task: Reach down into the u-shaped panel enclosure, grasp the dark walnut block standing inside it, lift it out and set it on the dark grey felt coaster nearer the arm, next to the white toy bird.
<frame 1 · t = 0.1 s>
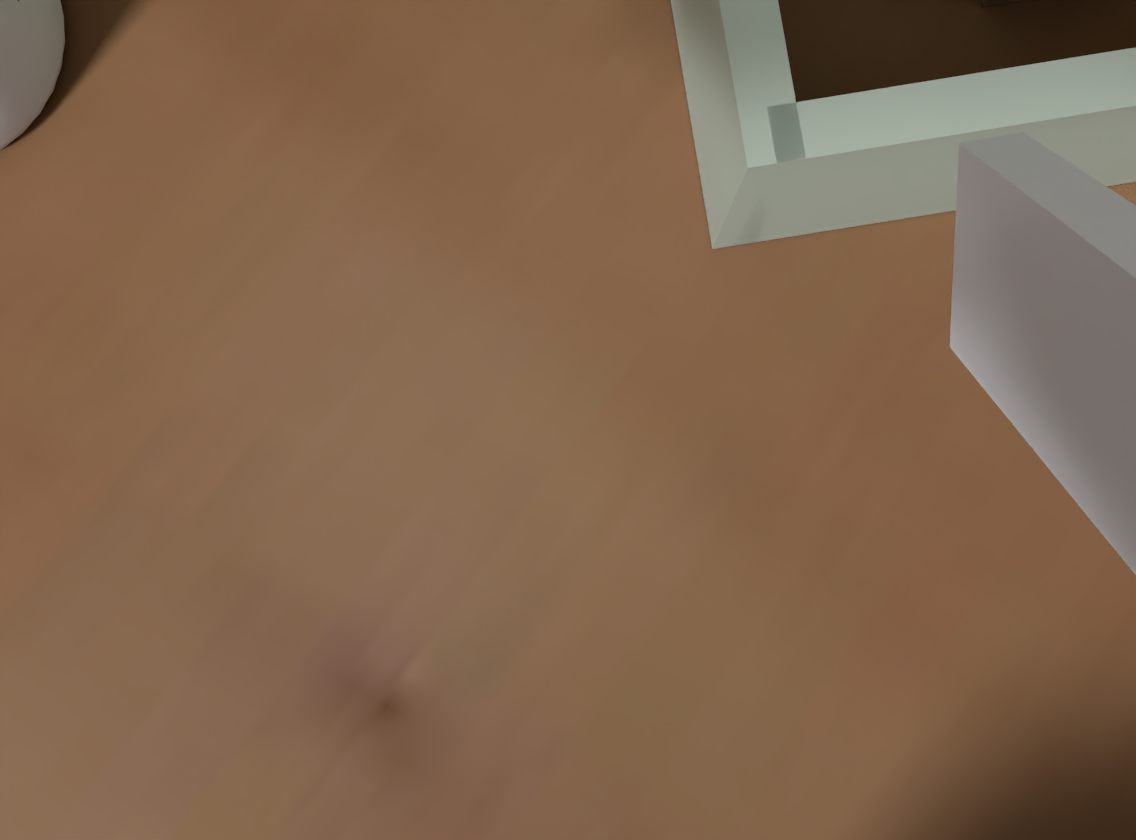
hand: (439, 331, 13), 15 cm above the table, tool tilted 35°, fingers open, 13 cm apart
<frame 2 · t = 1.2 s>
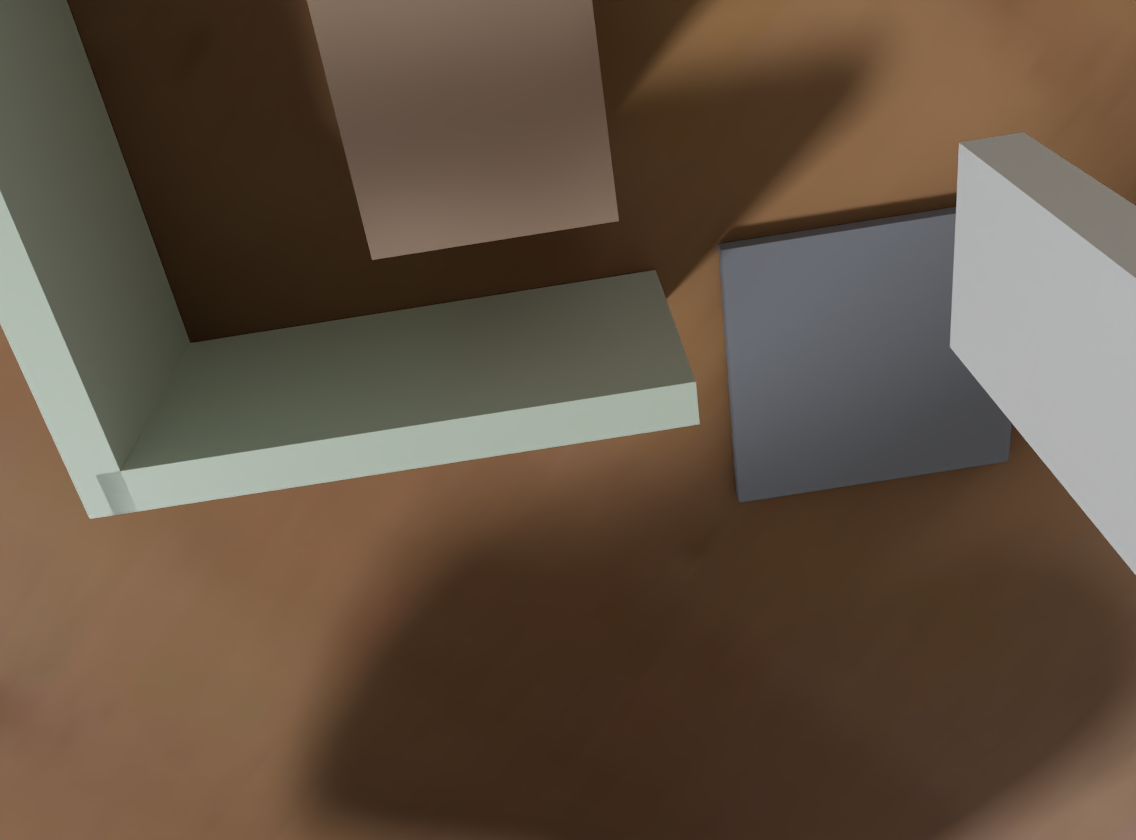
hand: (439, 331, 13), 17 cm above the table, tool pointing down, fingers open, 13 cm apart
u-shaped panel enclosure: (381, 63, 28), on the table
walnut block: (475, 47, 28), on the table
coaster: (869, 355, 33), on the table
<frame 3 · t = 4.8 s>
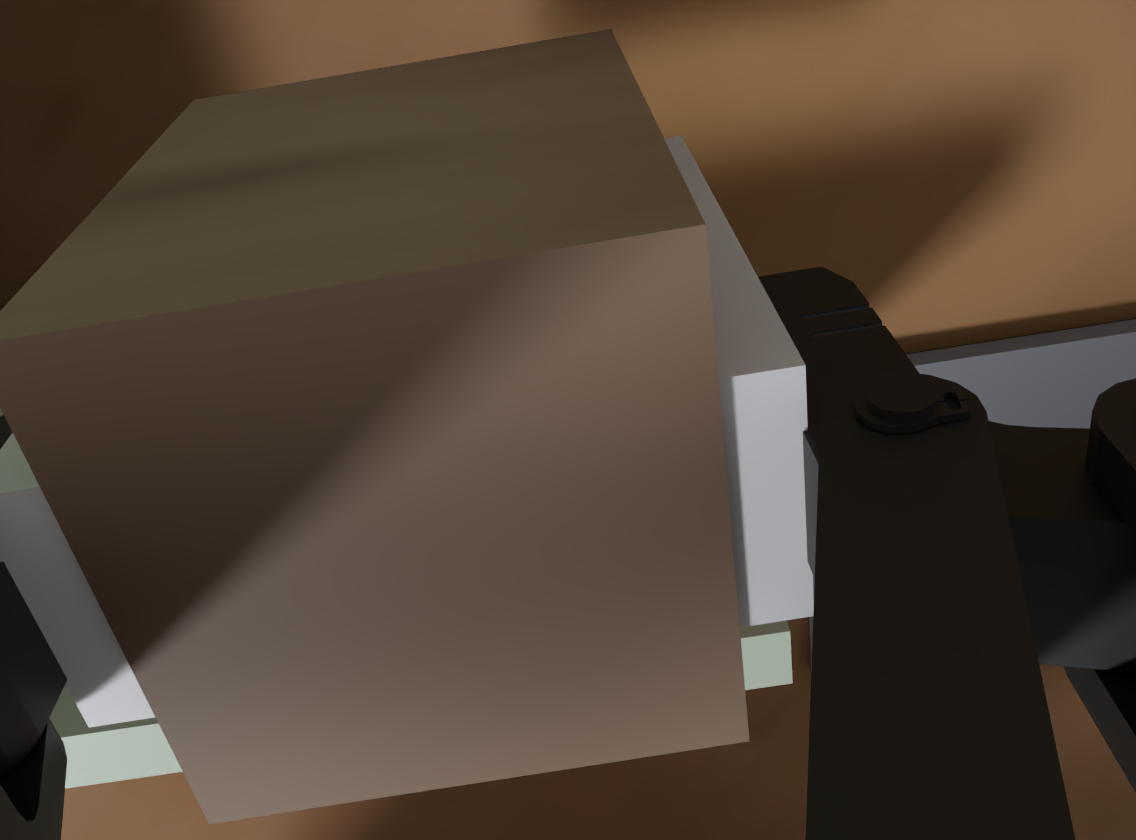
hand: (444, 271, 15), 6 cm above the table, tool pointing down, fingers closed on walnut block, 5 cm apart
u-shaped panel enclosure: (329, 136, 19), on the table
walnut block: (445, 259, 15), point 5 cm above the table, touching gripper
coaster: (997, 505, 25), on the table
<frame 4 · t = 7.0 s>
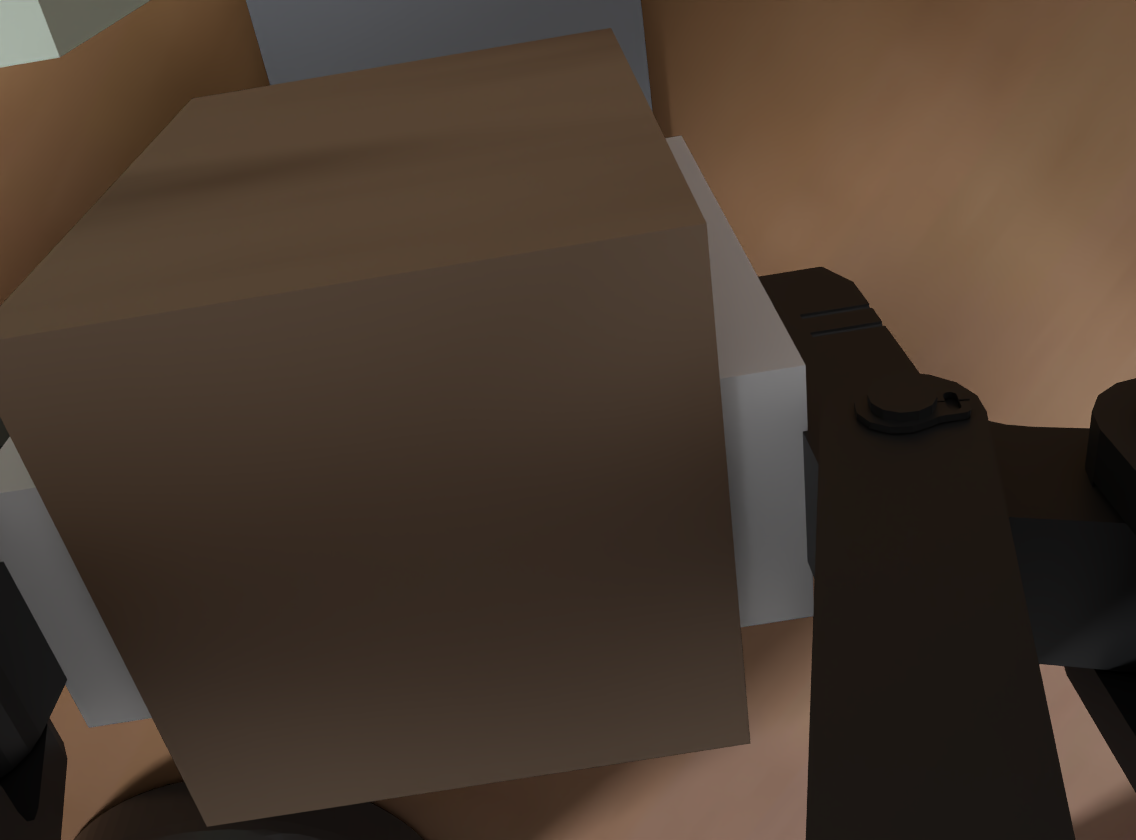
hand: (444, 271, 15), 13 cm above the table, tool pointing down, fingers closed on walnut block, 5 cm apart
walnut block: (444, 259, 15), point 13 cm above the table, touching gripper
coaster: (460, 68, 26), on the table
when the fingers open (1 cm above the table, at t = 9.6 s): walnut block stays where it is, resting on coaster.
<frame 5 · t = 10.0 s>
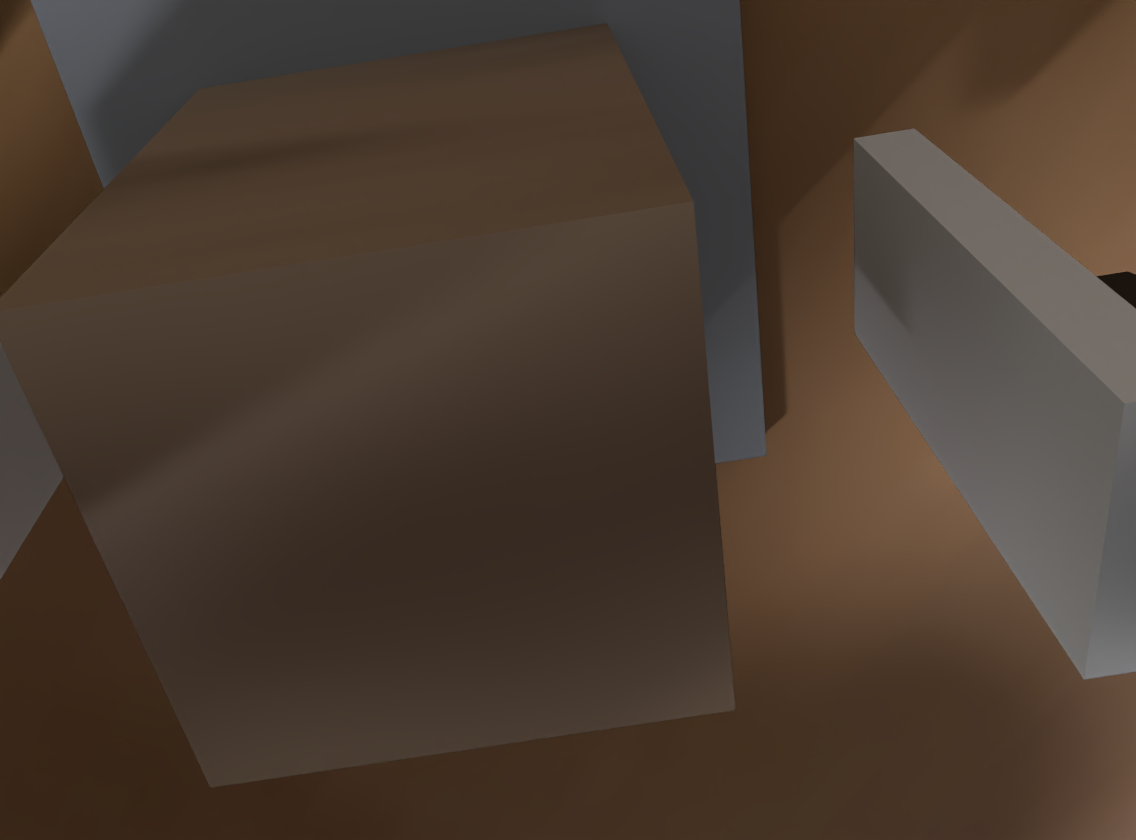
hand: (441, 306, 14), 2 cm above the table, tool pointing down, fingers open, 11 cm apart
walnut block: (443, 248, 16), resting on coaster
coaster: (448, 236, 16), on the table
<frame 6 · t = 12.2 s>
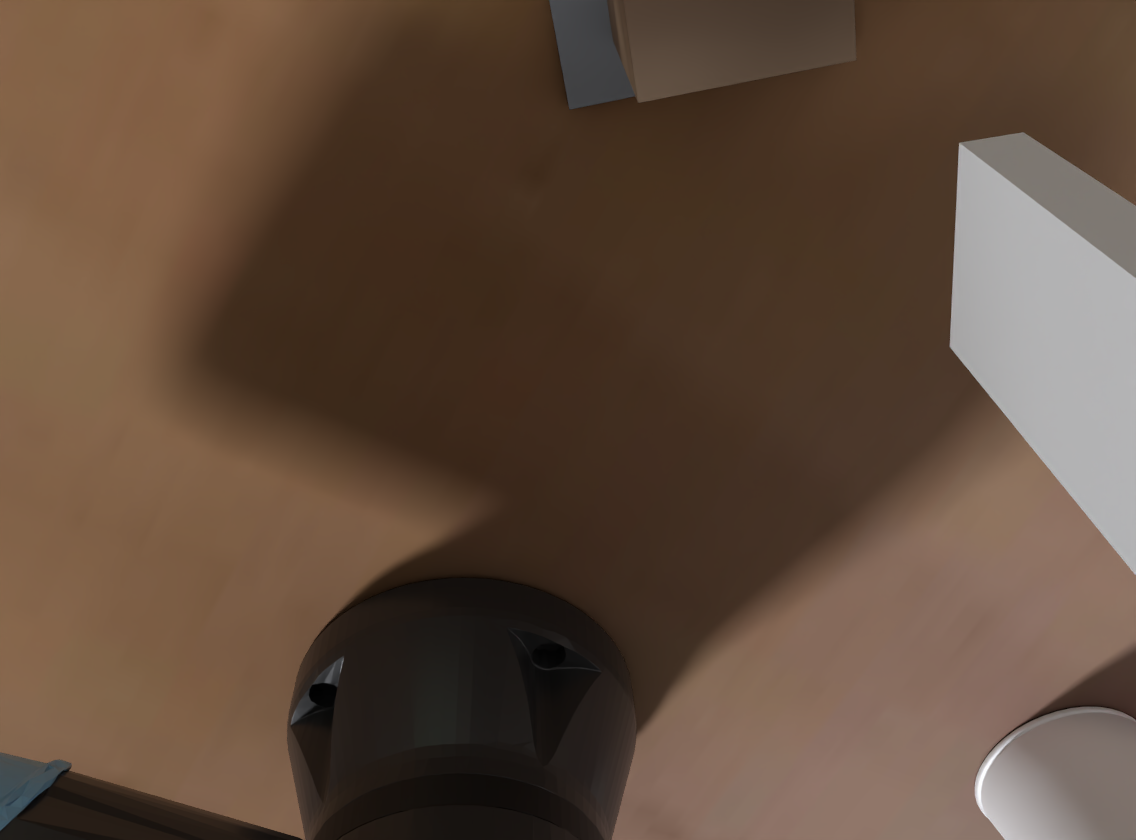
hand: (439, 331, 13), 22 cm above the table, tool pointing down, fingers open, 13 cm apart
spray can: (1071, 744, 52), on the table
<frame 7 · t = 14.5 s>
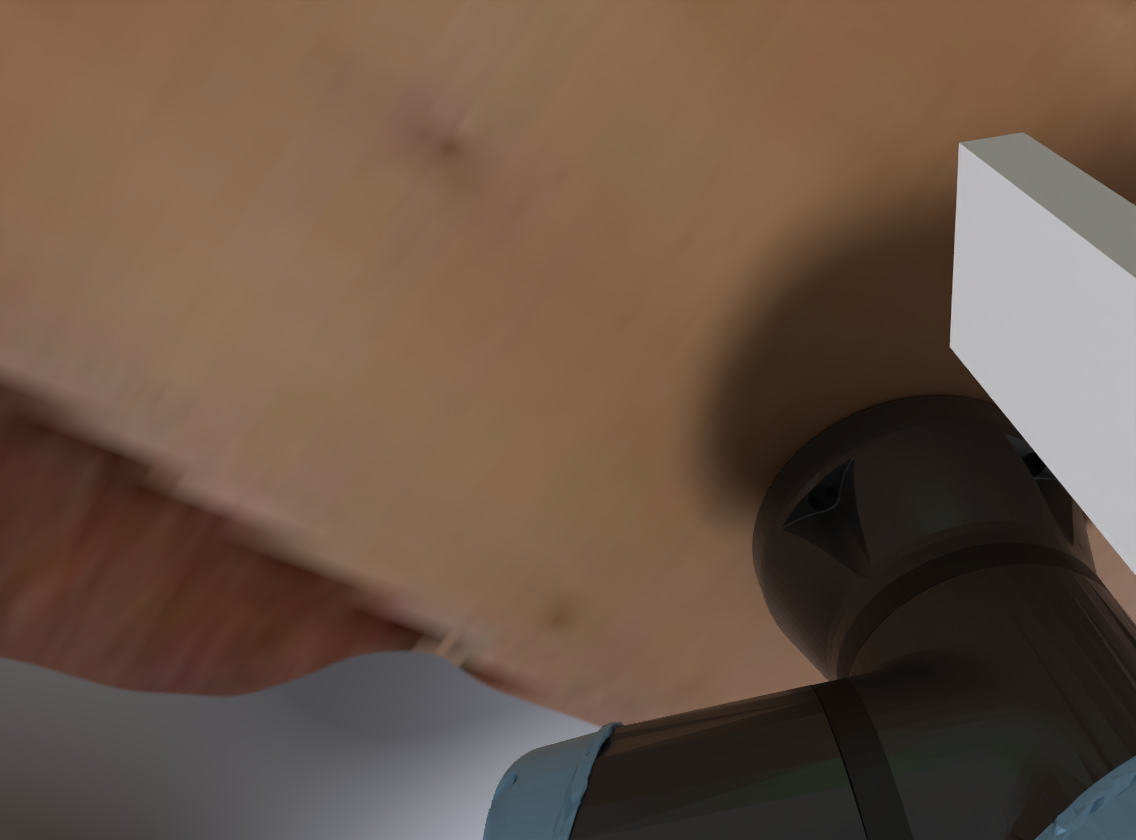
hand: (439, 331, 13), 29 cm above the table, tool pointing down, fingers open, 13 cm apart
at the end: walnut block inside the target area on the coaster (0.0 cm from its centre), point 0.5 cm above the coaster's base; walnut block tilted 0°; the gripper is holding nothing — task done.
